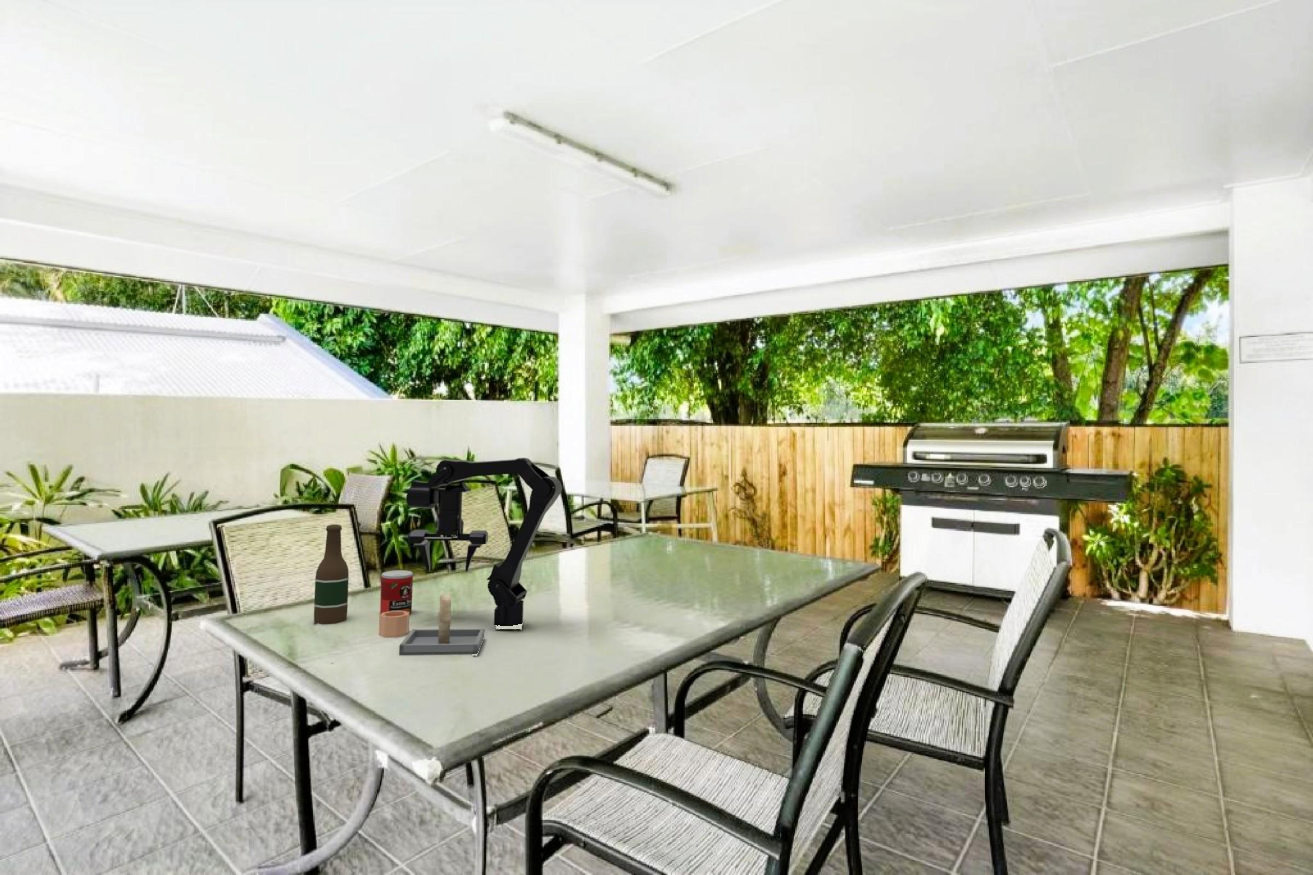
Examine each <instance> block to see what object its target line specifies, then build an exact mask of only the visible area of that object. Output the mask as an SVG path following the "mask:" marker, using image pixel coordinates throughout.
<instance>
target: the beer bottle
mask: <svg viewBox="0 0 1313 875" xmlns="http://www.w3.org/2000/svg"><path fill="white" fill-rule="evenodd" d="M342 530H343V527H342V525H341V524H328V525H326V528H325V531H326V539H325V540H326V541H325V546H324V547H325V549H324V554H323V559H322V560H321V562H320V563H319V565H318V566H317V569H316V571H315V578H314V603H313V605H314V606H313V624H314V625H315V626H316V625H332V624H333V625H334V624H339V623H343V622H346V620H347V618H348V607H349V606H348V605H349V604H348V602H349V578H350V576H349V567H348V565H347V564H348V563H347V561H346V560H345V559H344V557H343V553H342V535H341V534H342V533H341V532H342Z"/></svg>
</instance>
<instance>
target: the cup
mask: <svg viewBox="0 0 1313 875" xmlns="http://www.w3.org/2000/svg"><path fill="white" fill-rule="evenodd" d="M378 625H379V628H378V636H381V637H383V638H398V637H403V636H407V635H408V634H409V633H410V615H409V612H406V611H388V612H383V613H382V614H381V615H380V614H379V623H378Z"/></svg>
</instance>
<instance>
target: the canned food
mask: <svg viewBox="0 0 1313 875" xmlns="http://www.w3.org/2000/svg"><path fill="white" fill-rule="evenodd" d="M413 573H414V572H412V571H410V570H405V569H404V570H403V569H402V570H399V569H398V570H388V571H384V572H382V573H381V576H380V578H381V579H380V605H379V606H380V607H379V608H380V609H379V616H380V615H381V614H382V613H383V612H388V611H406V612H409V616H410V615H411V614H412V612H413V611H412V607H413V583H414V578H413V577H414V574H413Z"/></svg>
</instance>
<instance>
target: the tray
mask: <svg viewBox="0 0 1313 875" xmlns="http://www.w3.org/2000/svg"><path fill="white" fill-rule="evenodd" d="M438 635H439V628H421V629H420V628H418V629H416V628H412V630H411V631H409V632H408V633H407V635H406V636H405V638H404V640H402V641H401V643H400V644H399V646H398V648H399V649H398V650H399V652H398V655H399V656H425V655H426V656H427V655H429V656H433V655H434V656H435V655H437V656H439V655H440V656H441V655H447V656H448V655H472V654H477V653H478V651H479V648H480V646H481V643H482V641H483V638H484V639H485V628H450V643H449V644H438ZM483 642H484V641H483ZM482 644H483V643H482ZM481 647H482V646H481ZM480 649H481V648H480ZM479 652H480V651H479ZM478 654H479V653H478Z"/></svg>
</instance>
